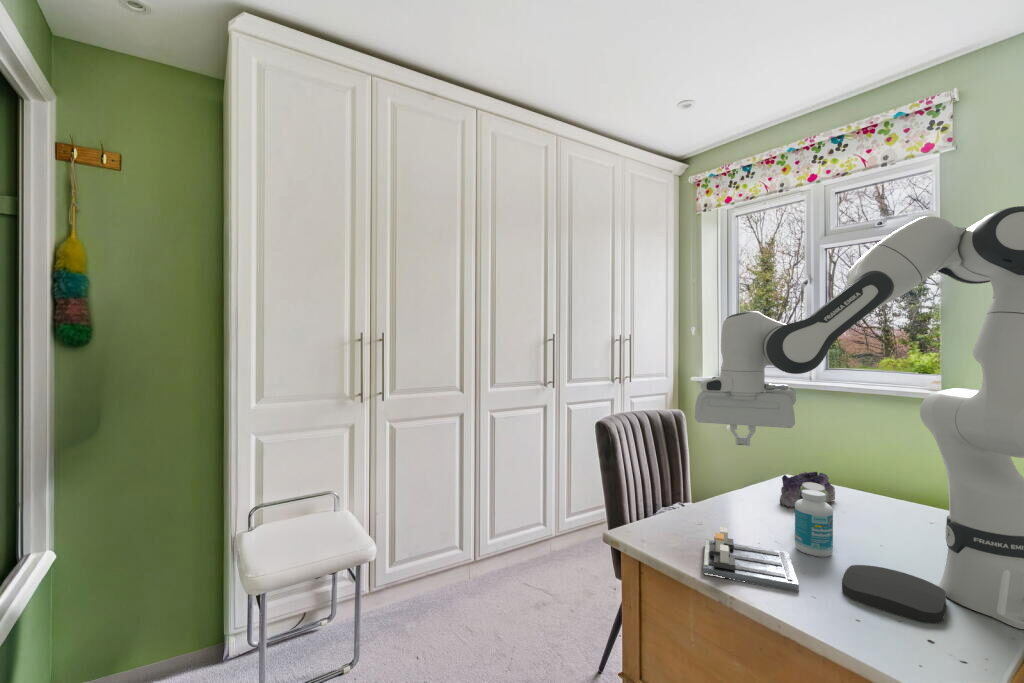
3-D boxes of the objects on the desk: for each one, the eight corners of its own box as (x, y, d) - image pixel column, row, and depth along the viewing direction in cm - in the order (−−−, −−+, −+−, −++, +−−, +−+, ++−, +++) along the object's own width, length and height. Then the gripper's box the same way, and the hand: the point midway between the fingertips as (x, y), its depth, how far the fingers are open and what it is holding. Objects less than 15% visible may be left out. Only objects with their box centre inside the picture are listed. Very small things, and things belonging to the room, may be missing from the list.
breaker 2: (734, 562, 98) (734, 546, 98) (735, 570, 95) (735, 553, 95) (714, 559, 100) (713, 542, 100) (713, 566, 96) (713, 549, 96)
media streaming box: (837, 598, 88) (837, 582, 88) (853, 571, 99) (853, 557, 99) (942, 631, 78) (942, 613, 78) (947, 598, 88) (947, 582, 88)
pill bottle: (815, 560, 103) (814, 498, 103) (787, 546, 110) (786, 489, 111) (841, 556, 105) (840, 495, 105) (812, 542, 112) (811, 486, 113)
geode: (813, 516, 131) (807, 479, 132) (771, 509, 140) (766, 475, 141) (844, 499, 142) (838, 466, 143) (803, 494, 152) (798, 463, 153)
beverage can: (817, 525, 123) (817, 479, 123) (834, 536, 116) (833, 488, 116) (792, 524, 124) (792, 479, 124) (807, 535, 117) (806, 487, 117)
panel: (787, 558, 104) (787, 551, 104) (798, 592, 90) (798, 583, 90) (705, 545, 111) (705, 538, 111) (703, 574, 97) (703, 566, 97)
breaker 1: (733, 543, 108) (733, 528, 108) (733, 549, 104) (733, 533, 104) (714, 540, 109) (714, 525, 109) (714, 546, 106) (714, 531, 106)
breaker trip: (729, 551, 103) (729, 534, 103) (730, 558, 100) (729, 540, 100) (710, 548, 105) (709, 531, 105) (709, 555, 102) (709, 537, 102)
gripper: (793, 383, 104) (794, 446, 104) (695, 381, 112) (695, 438, 112) (798, 386, 98) (798, 452, 98) (693, 383, 106) (694, 443, 106)
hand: (742, 444), depth 105 cm, fingers closed
